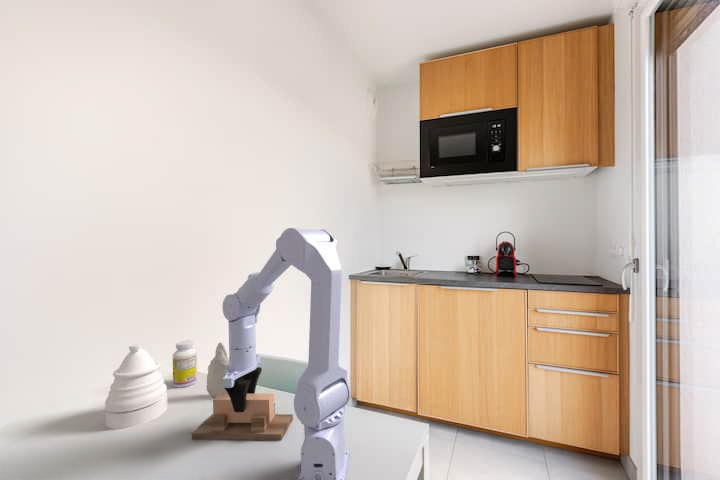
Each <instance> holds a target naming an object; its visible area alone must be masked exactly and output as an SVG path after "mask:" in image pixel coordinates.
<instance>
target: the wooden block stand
mask: <svg viewBox="0 0 720 480" xmlns="http://www.w3.org/2000/svg"><path fill="white" fill-rule="evenodd" d="M274 413H275V416H274V417H273V419H272V420H271V422H270V423H266V415H252V417H251V423H234V422H227V418H226V415H213V413H211V415H210V416H208V417H206V419H205V420H204V421H203V422H202V423H201V424H200V425H199V426H198V427H197V428H196V429H194V431H193V432H191V440H247V441H248V440H249V441H251V440H252V441H253V440H255V441H259V440H260V441H282V440H283V439H284V437H285V435H286V433H287V431H288V429H289V428H290V426H291V423H292V421H293V420H294V415H293V414H291V413H290V414H289V413H286V414H285V413H284V414H281V413H280V414H279V413H277V414H276V403H275V402H274Z"/></svg>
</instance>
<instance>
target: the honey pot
mask: <svg viewBox="0 0 720 480" xmlns="http://www.w3.org/2000/svg"><path fill="white" fill-rule="evenodd" d="M128 349H129V352H128V353H127V354H126V356H125V357H124V359H123V360H122V362H121V364H120V365H119V367H118V368H116V369H115V370H114V371H113V374H112V376H113V377H114V379H113V382H112V384H110V388H109V392H108V394H107V395H108V396H107V397H106V400H105V402H104V403H105V404H104V406H105V410H104V422H105V423H104V425H105V426H106V427H107V428H108V429H114V430H117V429H118V430H119V429H126V428H133V427H137V426H140V425H143V424H145V423H148V422H151V421H153V420H154V419H157V418H158V417H160V416H162V415H163V414H164V413H165V412H166V411H167V409H168V387H167V384H166V383H165V380H164V378H163V375H162V374H163V373H161V372H160V370H159V369H160V368H161V366H162V363H161V362H160V361H158V360H155V359H154V358H153V357H152V355H150V353H149V352H148V351H147V350H145V349H144V348H142V343H133V344H129V346H128Z"/></svg>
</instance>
